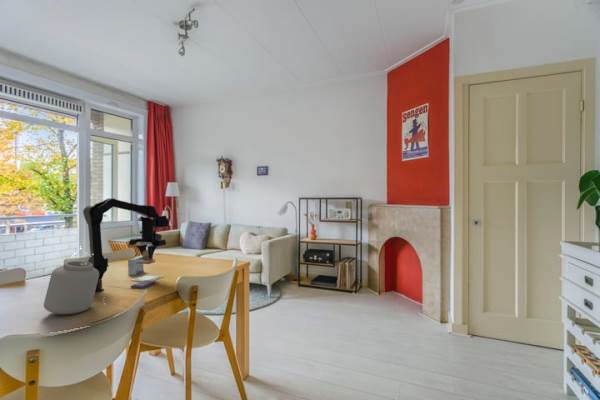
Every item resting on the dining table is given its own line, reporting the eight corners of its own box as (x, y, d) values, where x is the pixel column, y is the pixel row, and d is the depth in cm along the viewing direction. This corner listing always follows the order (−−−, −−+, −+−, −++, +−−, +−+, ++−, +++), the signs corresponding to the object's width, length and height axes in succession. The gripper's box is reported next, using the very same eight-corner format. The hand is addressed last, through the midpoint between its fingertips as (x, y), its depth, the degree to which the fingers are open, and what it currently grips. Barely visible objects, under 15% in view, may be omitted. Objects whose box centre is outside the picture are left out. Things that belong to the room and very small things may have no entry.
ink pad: (143, 289, 137) (143, 286, 137) (130, 287, 139) (130, 285, 139) (156, 283, 146) (156, 281, 146) (144, 282, 148) (144, 279, 148)
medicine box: (135, 275, 161) (135, 259, 161) (127, 274, 162) (127, 259, 161) (143, 271, 169) (143, 256, 169) (136, 271, 169) (136, 256, 169)
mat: (148, 282, 148) (148, 281, 148) (130, 280, 150) (130, 279, 150) (163, 276, 158) (163, 275, 158) (146, 275, 161) (146, 274, 161)
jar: (109, 301, 121) (109, 242, 121) (98, 315, 107) (97, 248, 107) (55, 306, 115) (54, 244, 115) (35, 321, 101) (34, 250, 101)
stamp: (148, 264, 151) (148, 251, 151) (140, 263, 152) (140, 251, 152) (155, 262, 156) (155, 249, 156) (147, 261, 157) (147, 249, 157)
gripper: (172, 228, 159) (172, 256, 160) (144, 227, 164) (144, 254, 164) (158, 230, 149) (158, 260, 149) (128, 229, 153) (128, 258, 153)
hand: (147, 258), depth 154 cm, fingers closed on stamp, 3 cm apart
